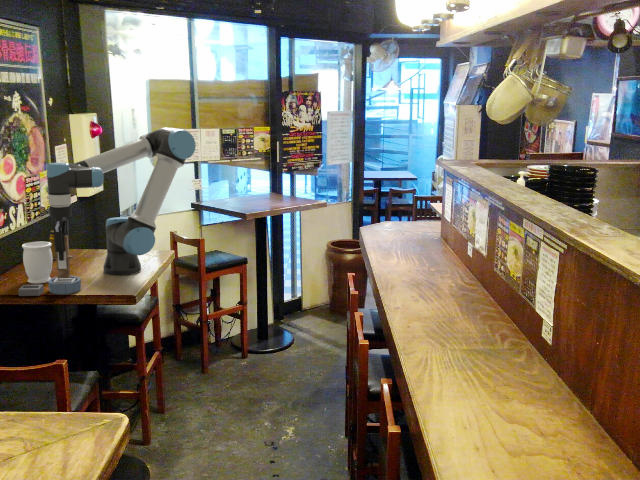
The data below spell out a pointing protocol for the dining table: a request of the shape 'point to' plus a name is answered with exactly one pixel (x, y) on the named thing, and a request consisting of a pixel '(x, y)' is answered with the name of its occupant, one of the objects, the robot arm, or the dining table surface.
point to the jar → (37, 261)
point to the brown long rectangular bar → (66, 272)
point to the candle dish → (64, 285)
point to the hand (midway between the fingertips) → (63, 267)
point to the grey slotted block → (31, 290)
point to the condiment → (53, 245)
